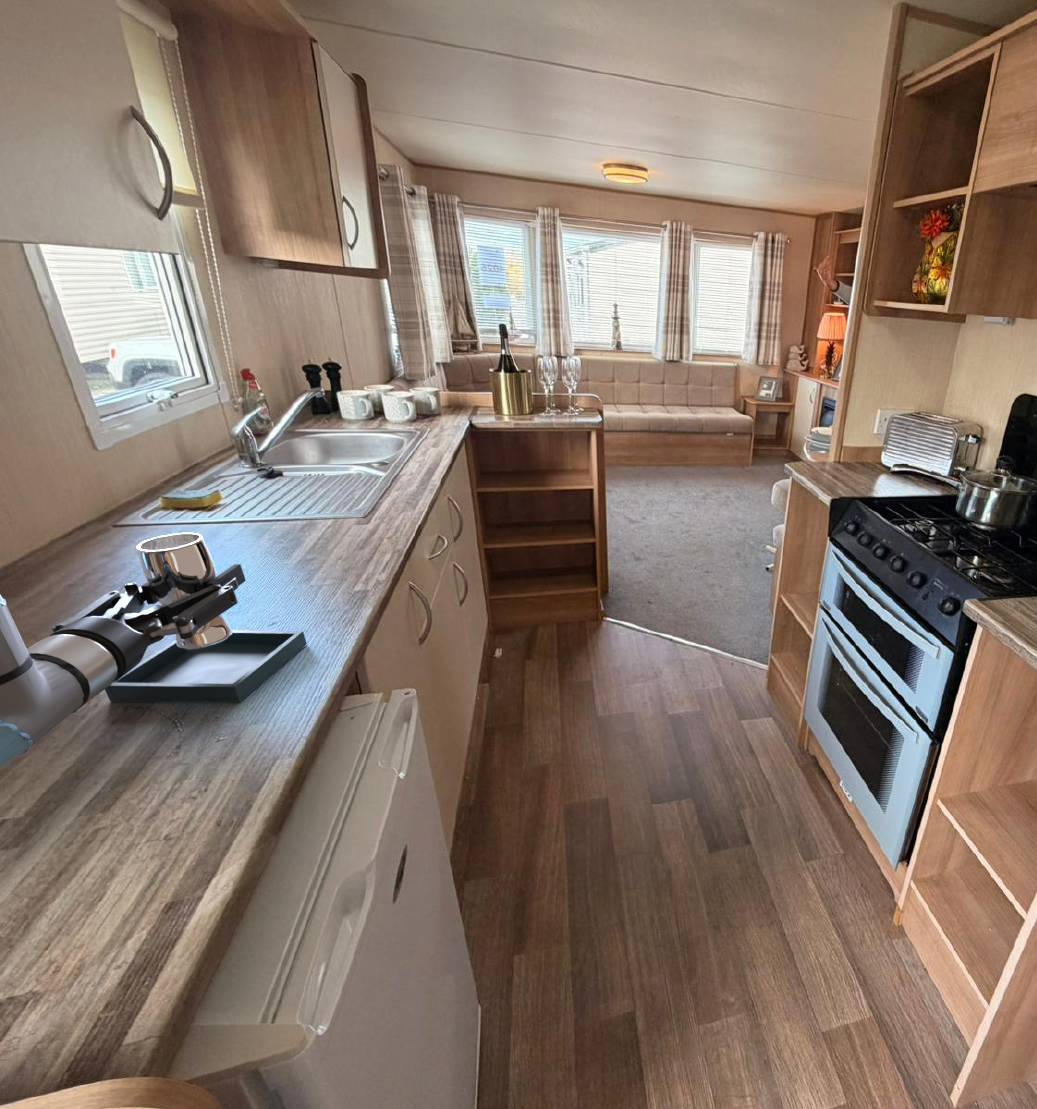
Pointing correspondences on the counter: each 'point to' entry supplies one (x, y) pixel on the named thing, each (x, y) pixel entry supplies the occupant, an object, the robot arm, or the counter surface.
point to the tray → (209, 669)
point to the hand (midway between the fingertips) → (210, 573)
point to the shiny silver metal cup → (182, 580)
